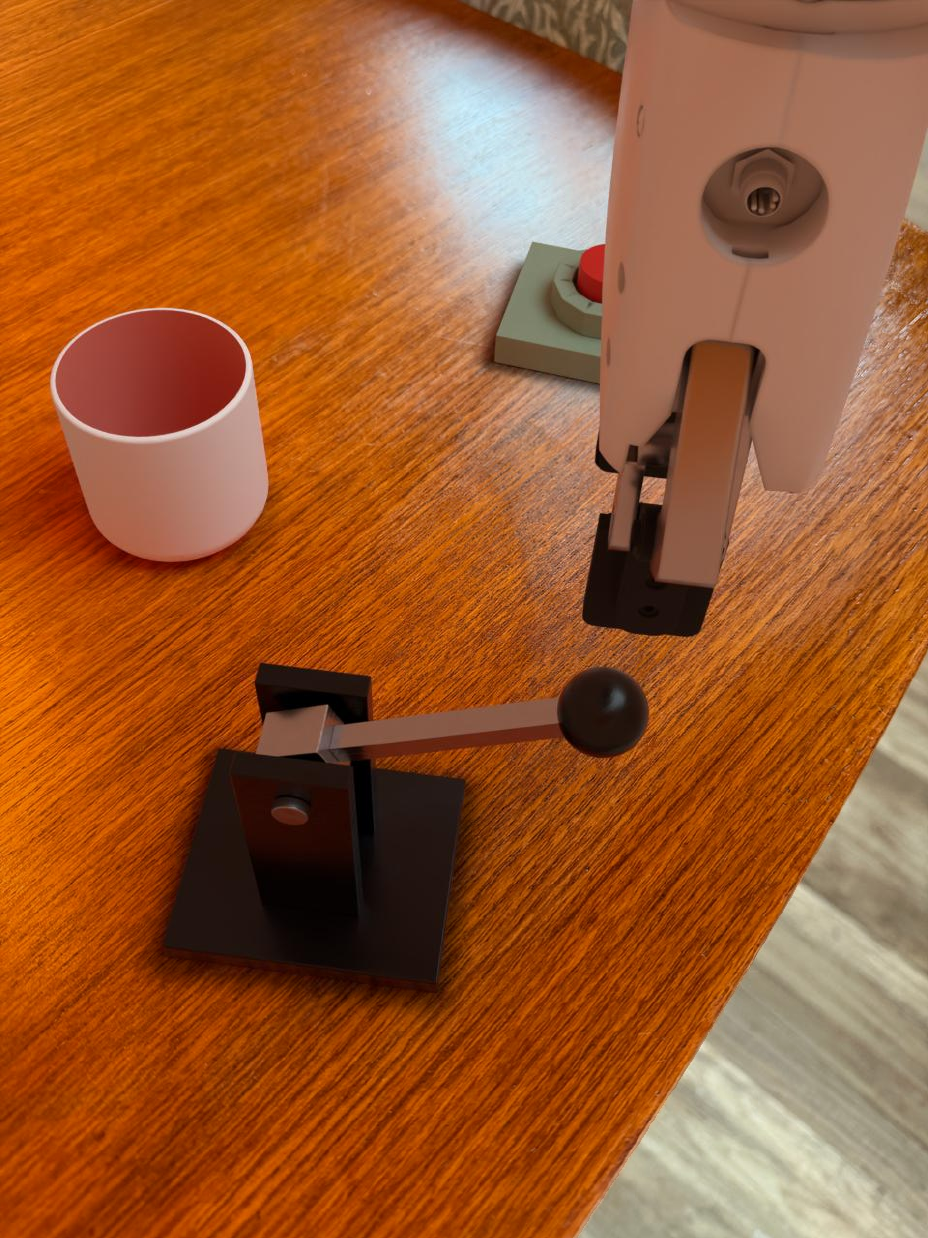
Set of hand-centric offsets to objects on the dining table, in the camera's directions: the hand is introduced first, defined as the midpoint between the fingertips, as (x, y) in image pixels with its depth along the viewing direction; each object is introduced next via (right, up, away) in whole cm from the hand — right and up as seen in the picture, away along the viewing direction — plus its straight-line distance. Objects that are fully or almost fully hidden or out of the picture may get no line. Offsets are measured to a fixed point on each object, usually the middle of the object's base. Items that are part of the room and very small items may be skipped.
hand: (644, 538), depth 34 cm
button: (+4, +19, +41) cm, 45 cm away
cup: (-21, +4, +34) cm, 40 cm away
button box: (+4, +17, +44) cm, 47 cm away
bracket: (-12, -14, +21) cm, 28 cm away
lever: (-5, -7, +11) cm, 14 cm away
